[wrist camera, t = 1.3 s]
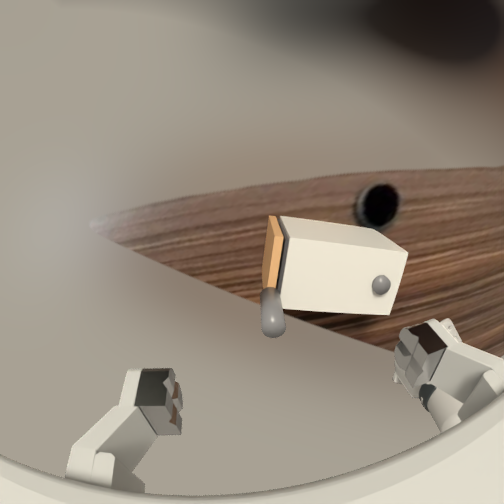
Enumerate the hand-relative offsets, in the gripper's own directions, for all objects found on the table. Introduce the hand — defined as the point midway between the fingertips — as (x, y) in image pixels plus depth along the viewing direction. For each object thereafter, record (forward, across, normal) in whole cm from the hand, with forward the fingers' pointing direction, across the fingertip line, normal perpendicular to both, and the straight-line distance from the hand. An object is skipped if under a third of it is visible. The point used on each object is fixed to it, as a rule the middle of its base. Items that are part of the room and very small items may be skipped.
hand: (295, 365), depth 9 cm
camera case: (+33, +13, -12) cm, 37 cm away
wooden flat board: (+34, +4, -10) cm, 36 cm away
